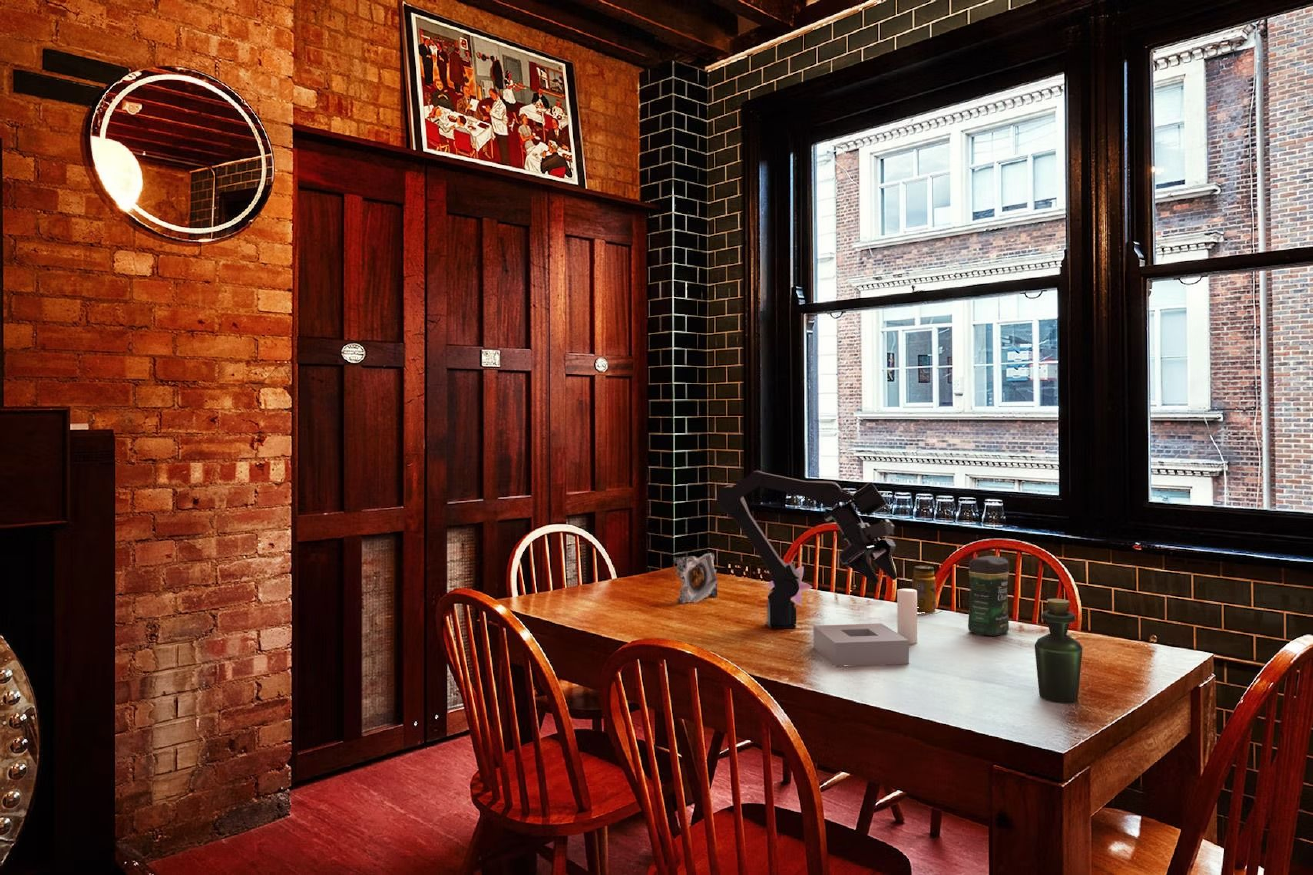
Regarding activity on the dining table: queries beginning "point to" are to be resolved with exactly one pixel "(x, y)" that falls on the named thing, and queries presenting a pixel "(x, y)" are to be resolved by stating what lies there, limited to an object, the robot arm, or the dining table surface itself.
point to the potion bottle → (1058, 656)
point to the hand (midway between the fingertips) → (886, 580)
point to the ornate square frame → (696, 577)
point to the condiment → (925, 589)
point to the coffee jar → (988, 596)
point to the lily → (803, 587)
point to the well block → (860, 644)
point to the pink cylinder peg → (907, 614)
